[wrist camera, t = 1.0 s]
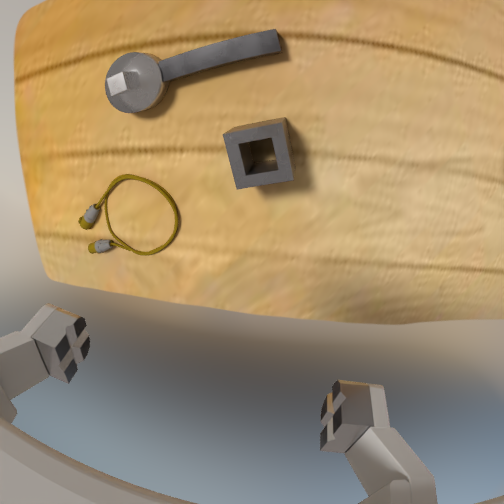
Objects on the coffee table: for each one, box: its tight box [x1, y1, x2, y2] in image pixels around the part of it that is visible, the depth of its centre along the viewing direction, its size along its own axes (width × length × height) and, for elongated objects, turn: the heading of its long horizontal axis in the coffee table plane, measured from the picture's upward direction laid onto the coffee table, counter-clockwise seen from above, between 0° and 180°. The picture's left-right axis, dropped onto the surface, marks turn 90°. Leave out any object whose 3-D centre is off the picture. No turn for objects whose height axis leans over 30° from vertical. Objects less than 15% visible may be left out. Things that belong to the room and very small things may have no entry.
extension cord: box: [78, 174, 178, 255], centre depth 40 cm, size 12×16×2 cm
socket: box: [223, 117, 295, 189], centre depth 31 cm, size 6×6×5 cm
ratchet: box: [105, 29, 282, 113], centre depth 28 cm, size 20×7×6 cm, turn 103°
